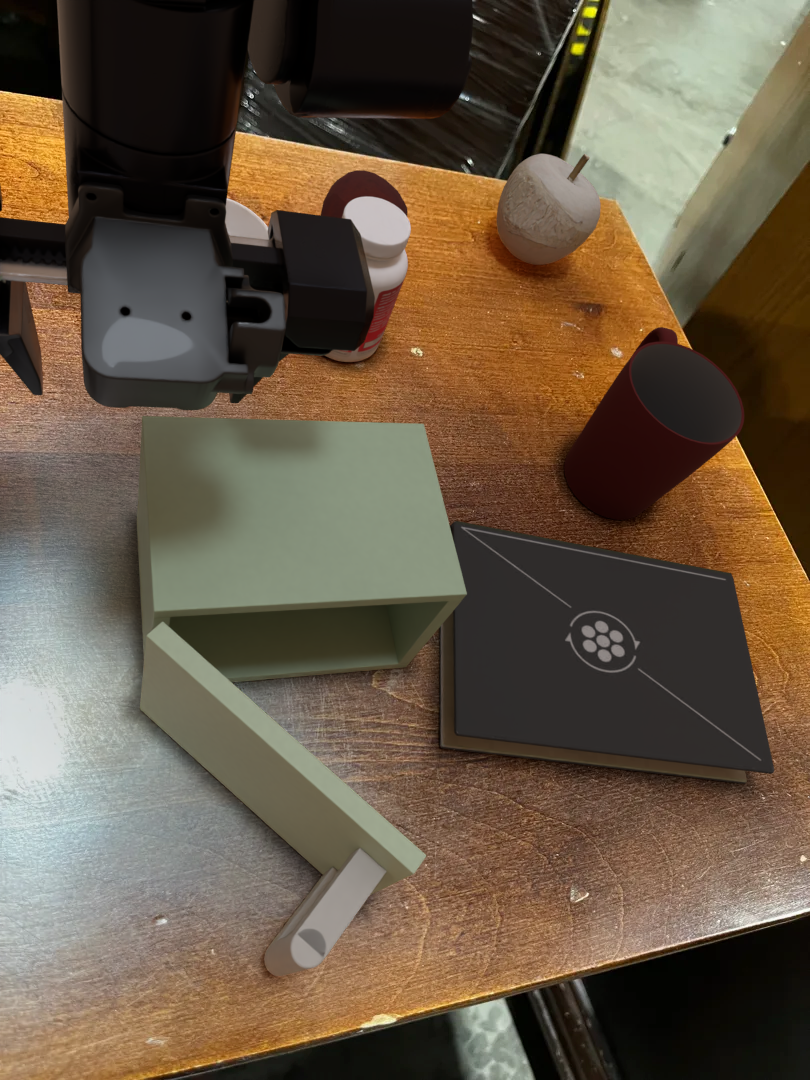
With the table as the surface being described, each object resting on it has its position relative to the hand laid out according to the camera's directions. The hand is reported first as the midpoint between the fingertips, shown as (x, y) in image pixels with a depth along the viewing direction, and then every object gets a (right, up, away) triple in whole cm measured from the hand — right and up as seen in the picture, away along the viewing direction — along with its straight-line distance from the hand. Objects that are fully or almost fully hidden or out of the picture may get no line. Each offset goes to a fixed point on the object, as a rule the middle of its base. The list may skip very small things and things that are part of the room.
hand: (139, 392), depth 40 cm
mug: (+29, -1, +25) cm, 38 cm away
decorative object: (+24, +19, +35) cm, 47 cm away
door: (+3, -23, +2) cm, 23 cm away
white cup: (-2, +6, +18) cm, 19 cm away
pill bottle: (+8, +9, +23) cm, 26 cm away
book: (+26, -16, +15) cm, 34 cm away
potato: (+9, +17, +28) cm, 34 cm away
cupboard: (+5, -11, +10) cm, 16 cm away
